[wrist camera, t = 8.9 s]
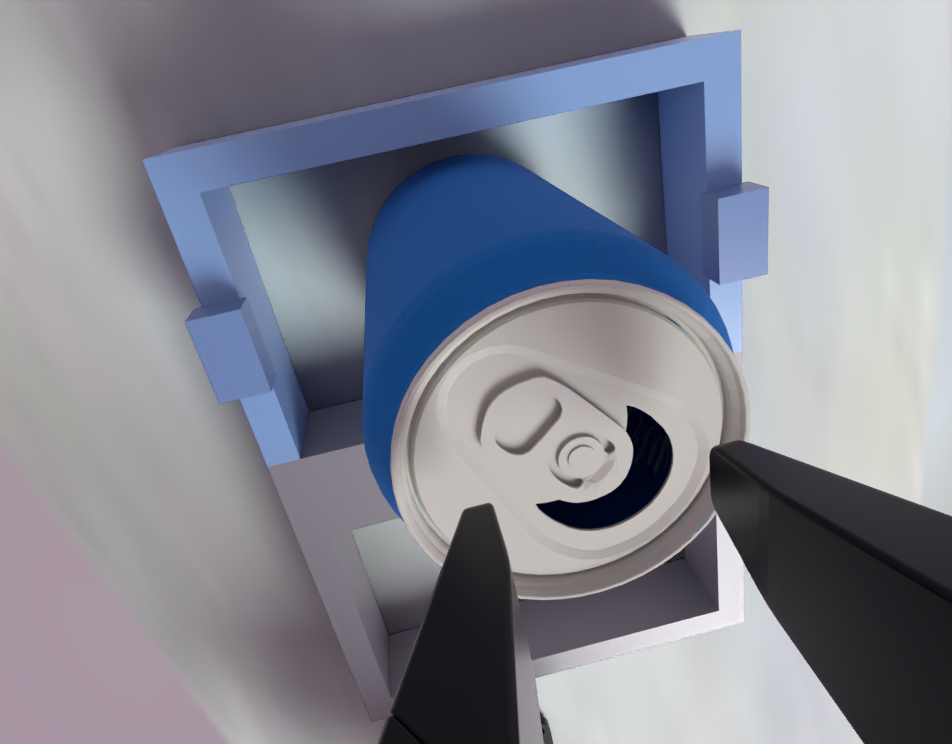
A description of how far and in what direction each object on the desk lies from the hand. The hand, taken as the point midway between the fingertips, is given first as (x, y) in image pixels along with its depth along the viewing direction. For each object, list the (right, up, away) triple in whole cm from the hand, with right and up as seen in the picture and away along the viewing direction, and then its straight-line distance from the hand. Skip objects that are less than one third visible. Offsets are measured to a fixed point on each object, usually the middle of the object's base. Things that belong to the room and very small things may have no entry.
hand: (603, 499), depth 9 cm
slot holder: (-1, +1, +14) cm, 14 cm away
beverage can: (-2, +5, +12) cm, 13 cm away
